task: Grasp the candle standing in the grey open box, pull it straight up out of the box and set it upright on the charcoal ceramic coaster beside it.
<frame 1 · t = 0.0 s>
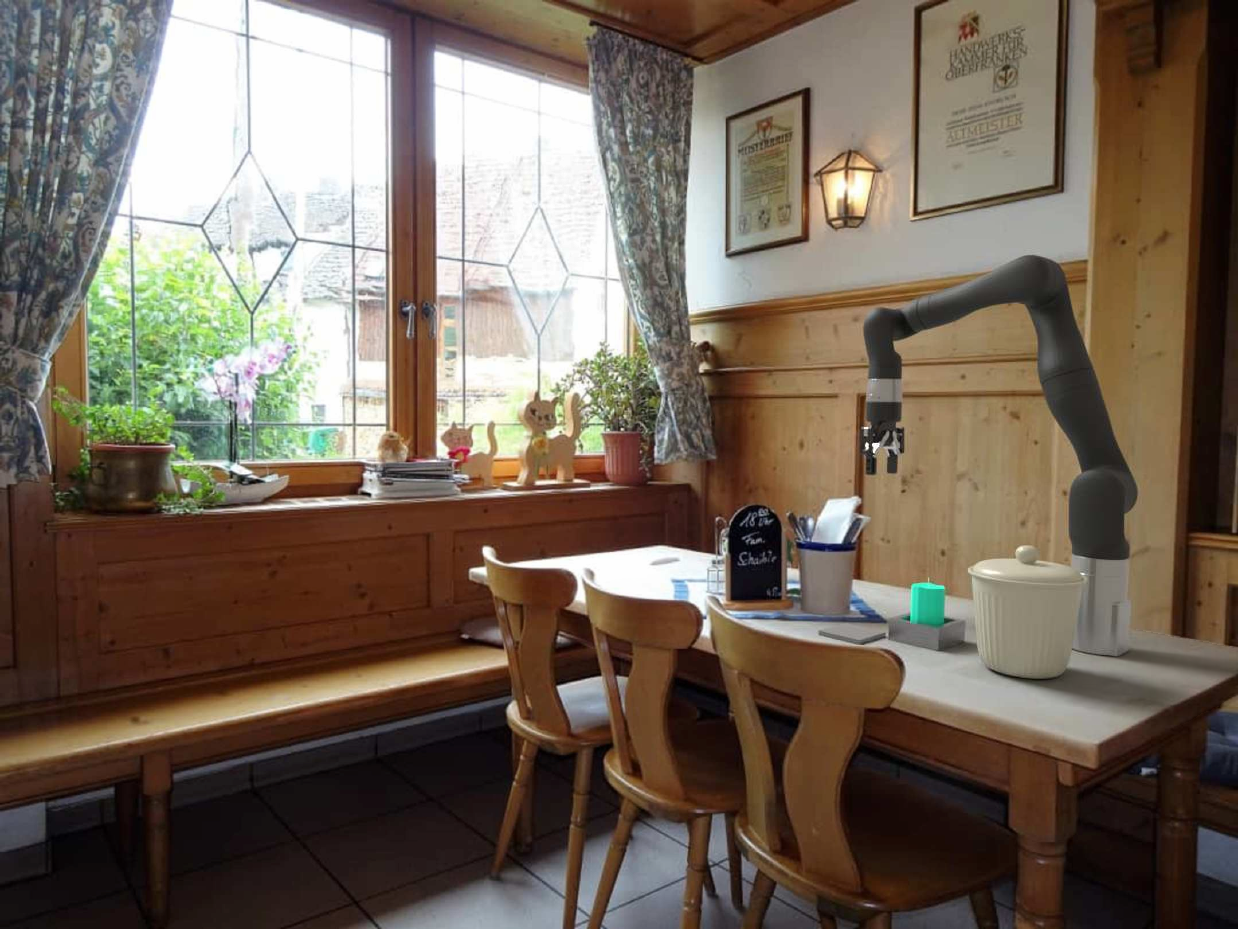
hand: (881, 474, 190), 29 cm above the table, fingers open, 8 cm apart
coaster: (851, 635, 166), on the table
grey open box: (926, 640, 163), on the table
canister: (1022, 671, 145), on the table
candle: (926, 641, 163), resting in grey open box
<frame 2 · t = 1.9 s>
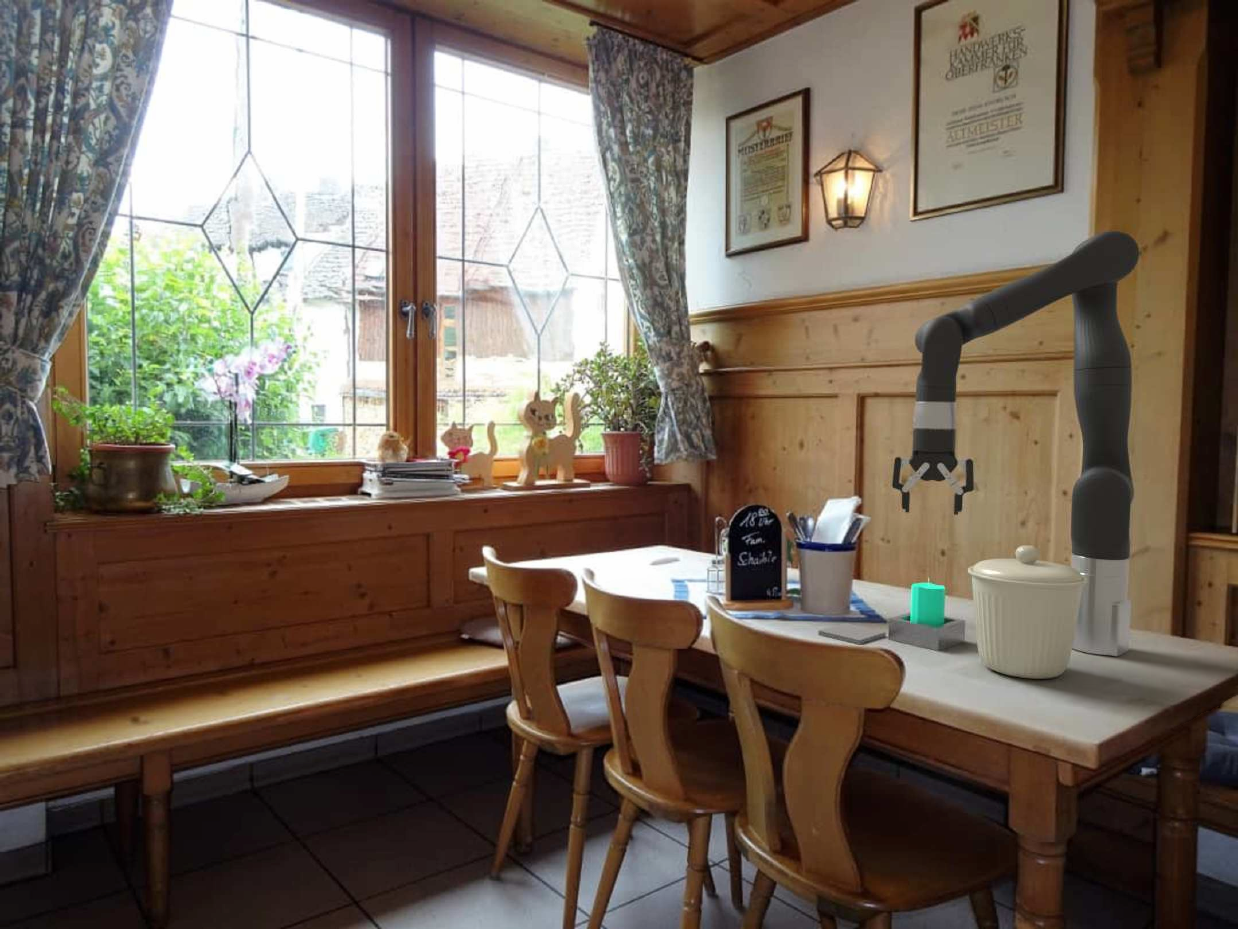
hand: (931, 513, 162), 24 cm above the table, fingers open, 8 cm apart
nothing on the table moved.
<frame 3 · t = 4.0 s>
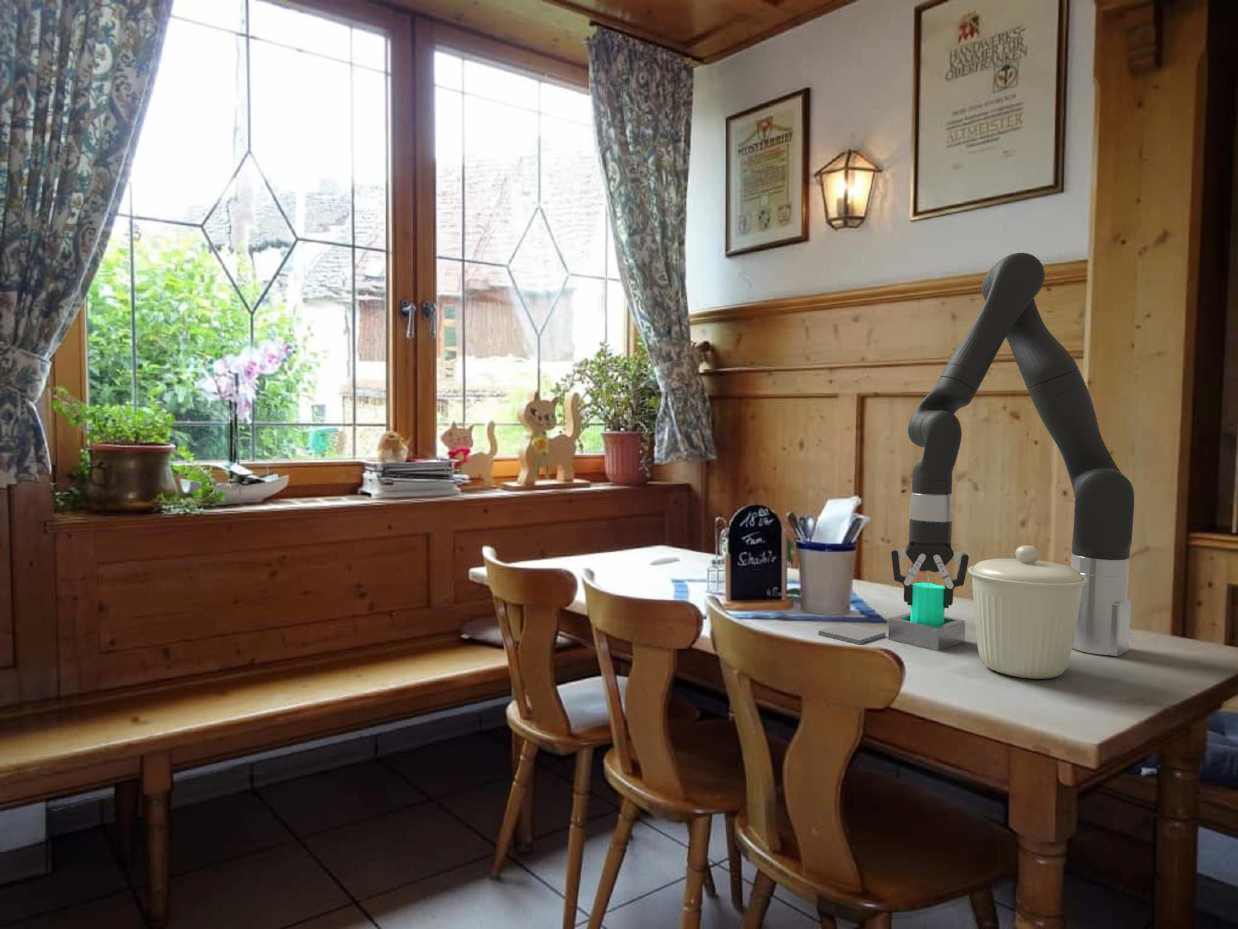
hand: (927, 605, 163), 7 cm above the table, fingers closed on candle, 6 cm apart
candle: (926, 641, 163), resting in grey open box, touching gripper
everything else where it was.
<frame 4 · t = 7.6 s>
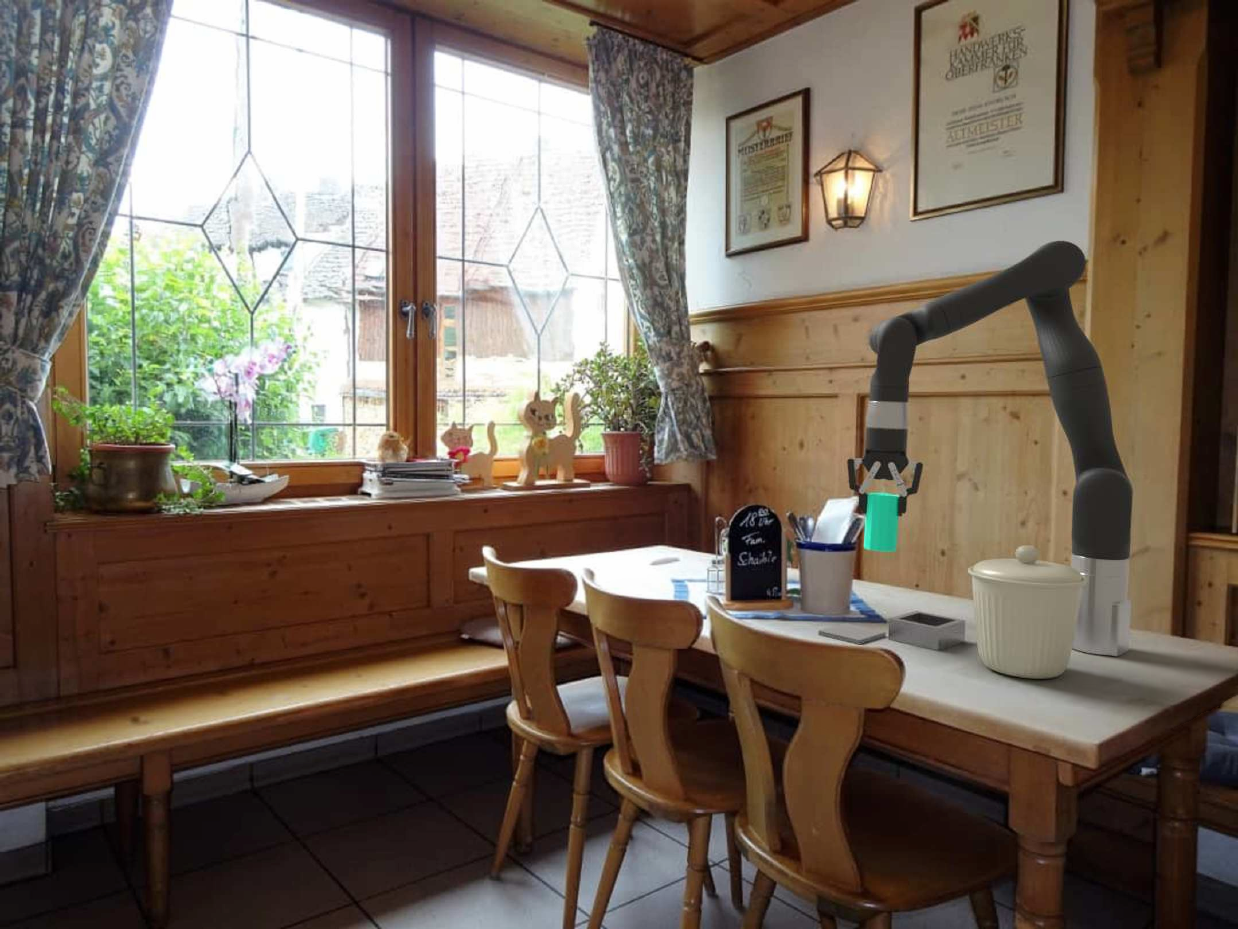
hand: (881, 514, 164), 24 cm above the table, fingers closed on candle, 6 cm apart
candle: (879, 549, 164), point 17 cm above the table, touching gripper
everything else where it was.
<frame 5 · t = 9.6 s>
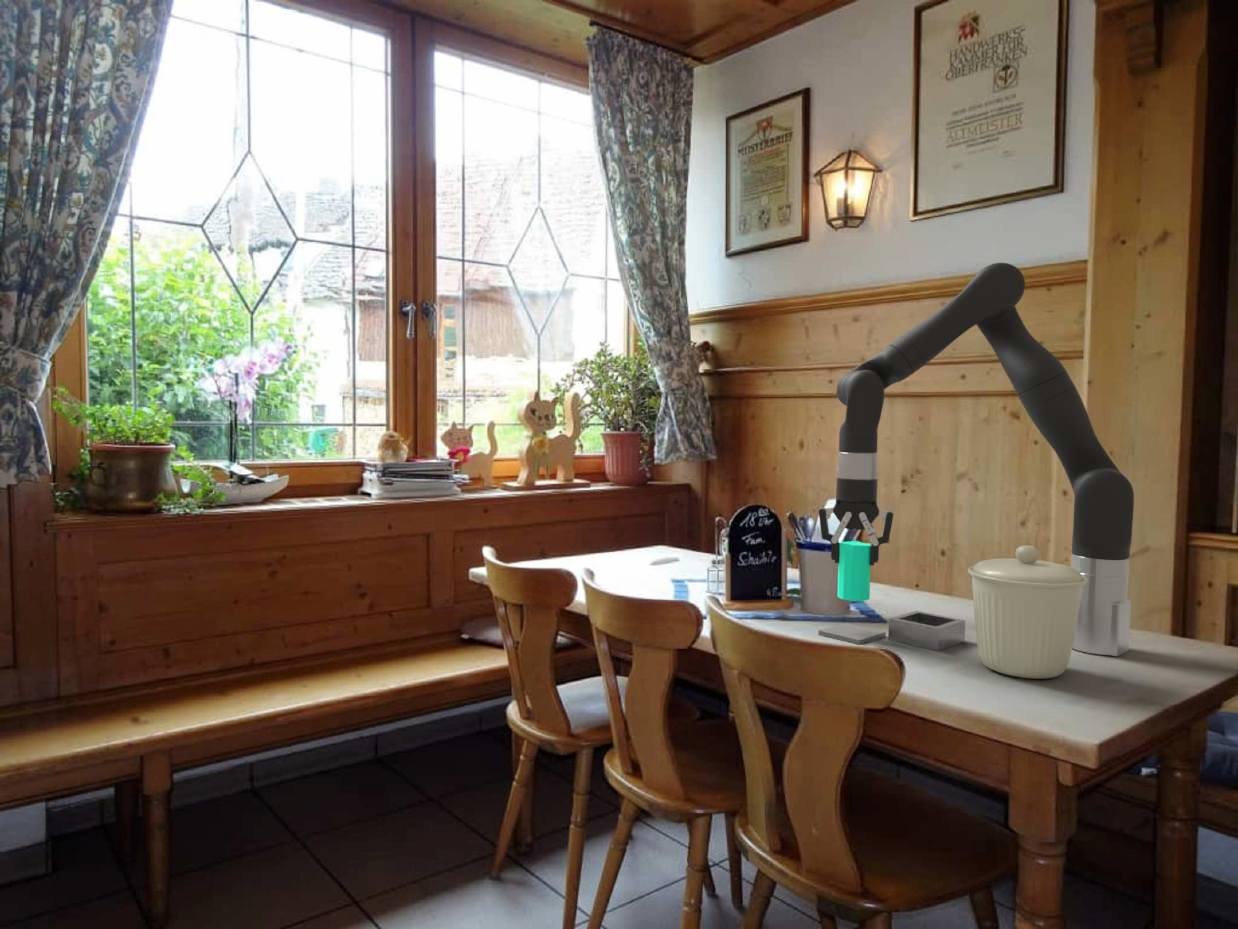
hand: (854, 563, 165), 14 cm above the table, fingers closed on candle, 6 cm apart
candle: (853, 598, 166), point 7 cm above the table, touching gripper
everything else where it was.
when the fingers open (8 cm above the table, at t = 11.2 s): candle drops 1 cm, resting on coaster.
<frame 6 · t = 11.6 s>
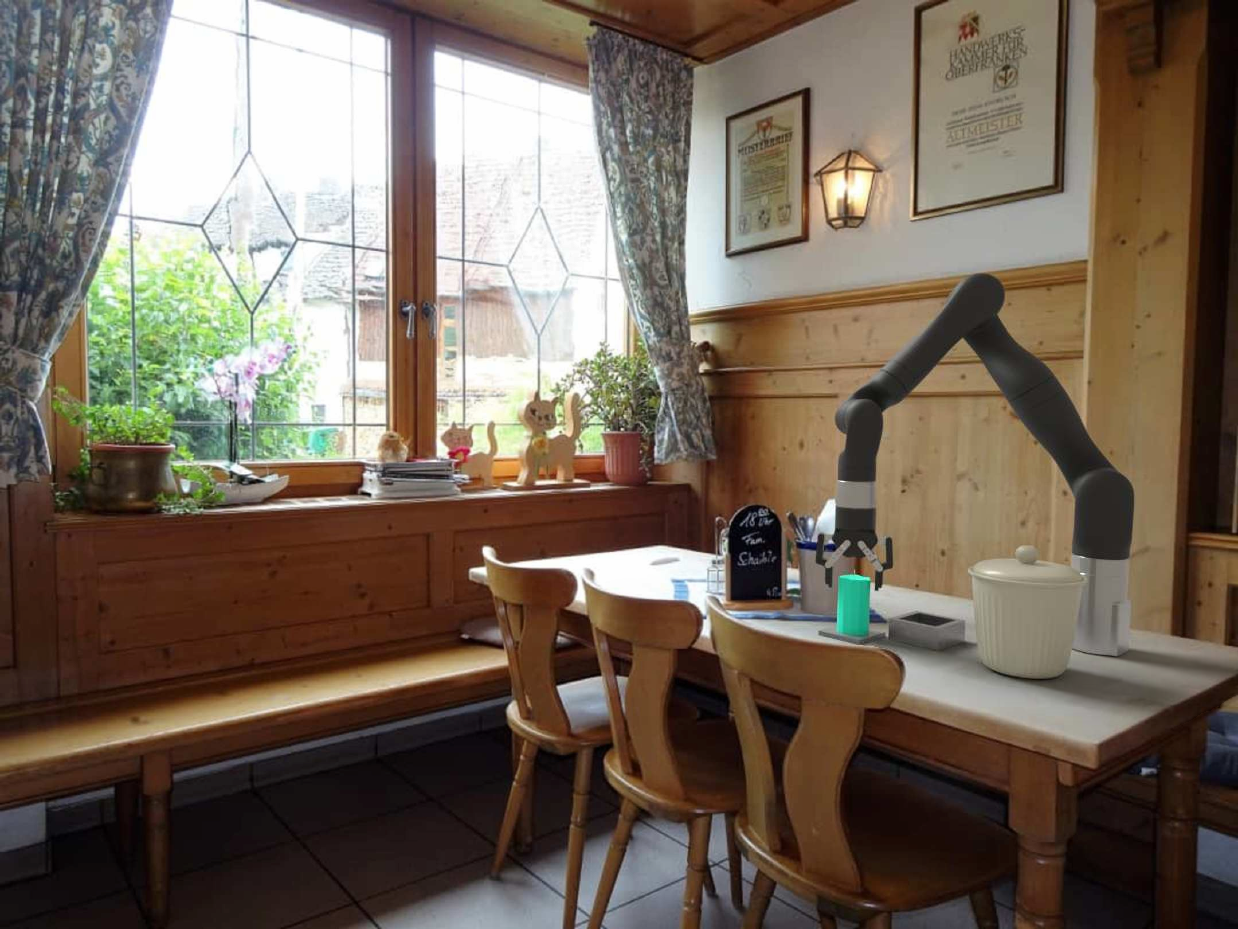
hand: (853, 588, 165), 9 cm above the table, fingers open, 8 cm apart
candle: (852, 632, 166), point 1 cm above the table, touching coaster
everything else where it was.
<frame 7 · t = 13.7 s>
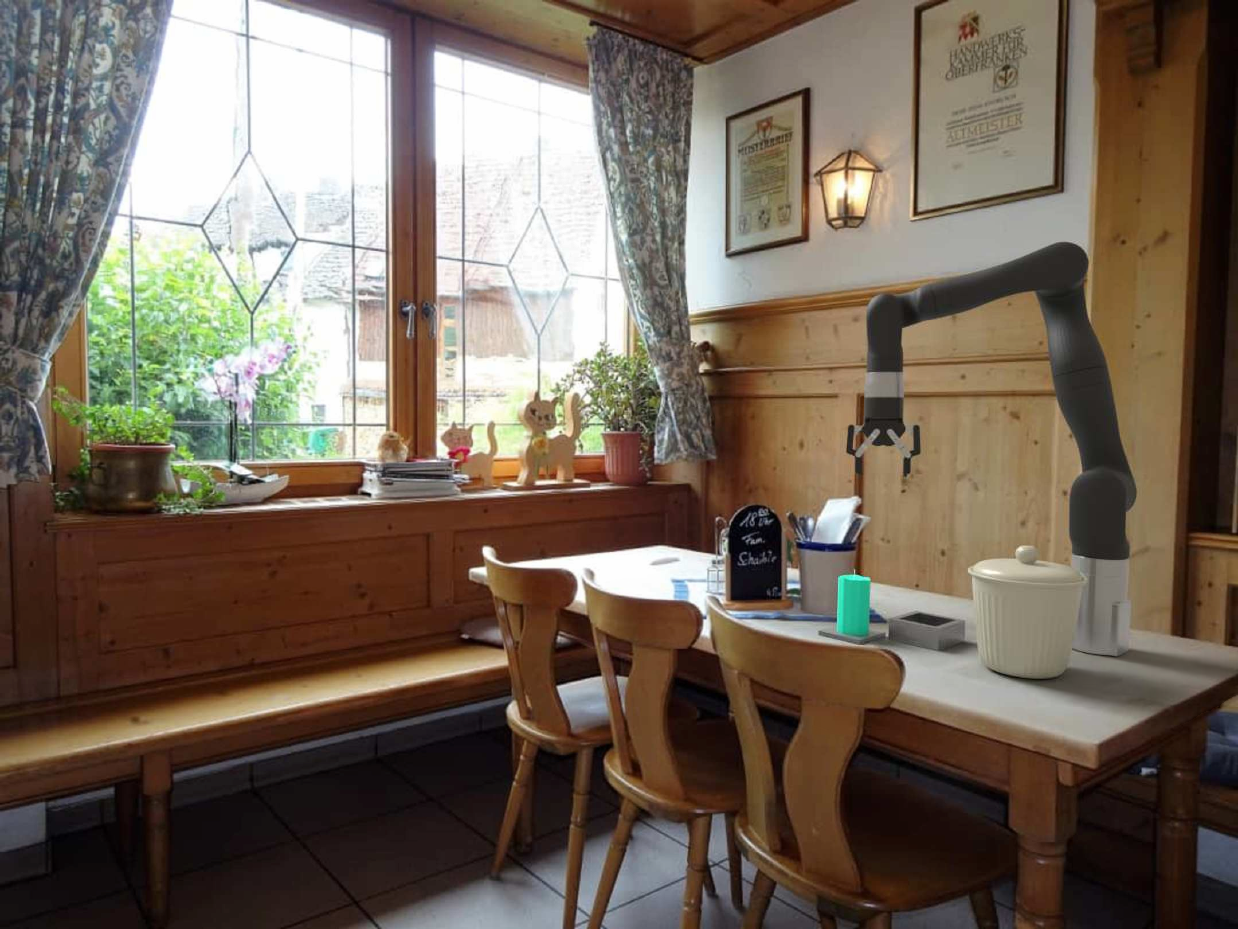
hand: (882, 476, 174), 30 cm above the table, fingers open, 8 cm apart
nothing on the table moved.
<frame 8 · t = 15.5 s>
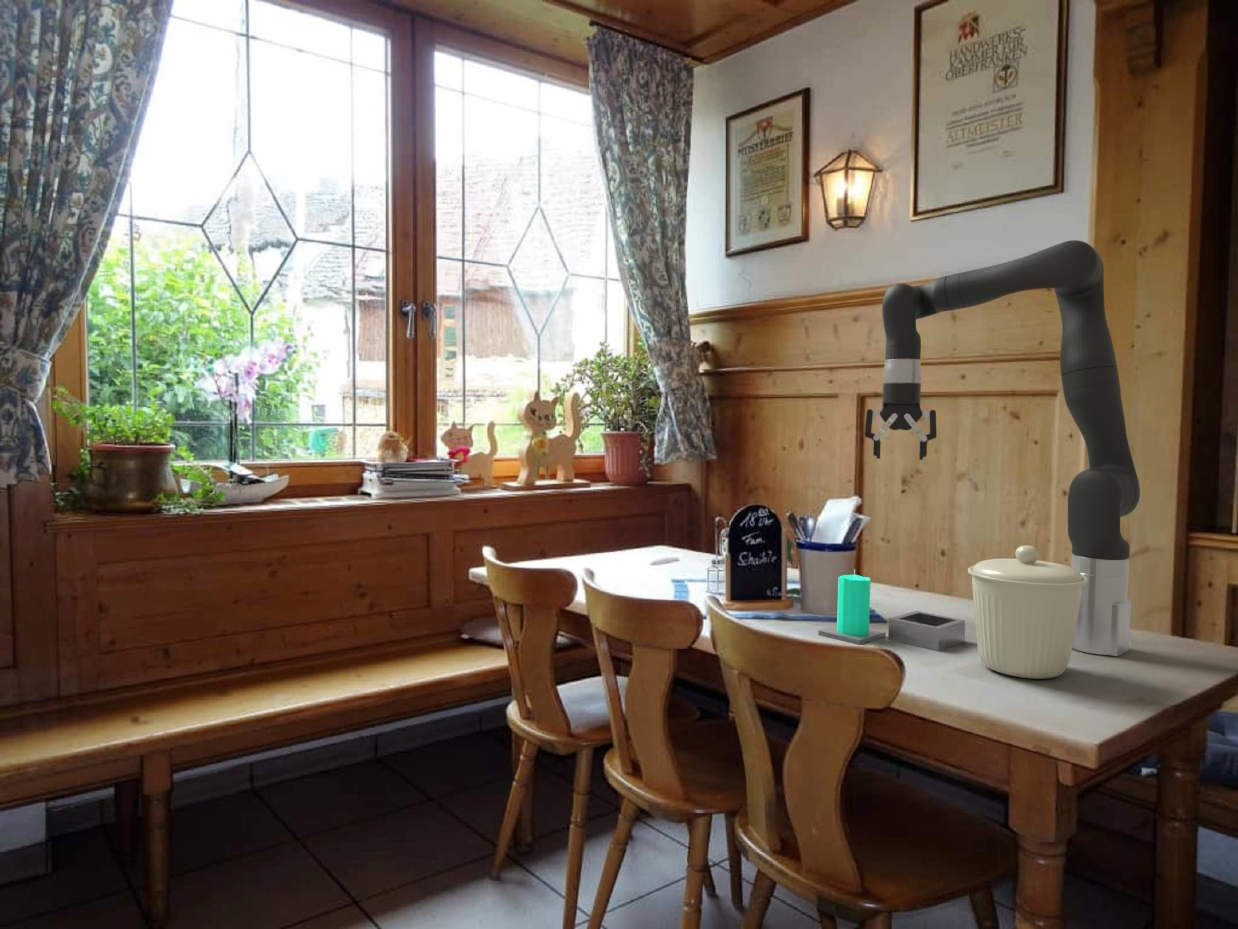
hand: (899, 459, 181), 33 cm above the table, fingers open, 8 cm apart
nothing on the table moved.
at the end: candle 0.1 cm off-centre on the coaster, point 0.6 cm above the coaster's base; candle tilted 0°; the gripper is holding nothing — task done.
